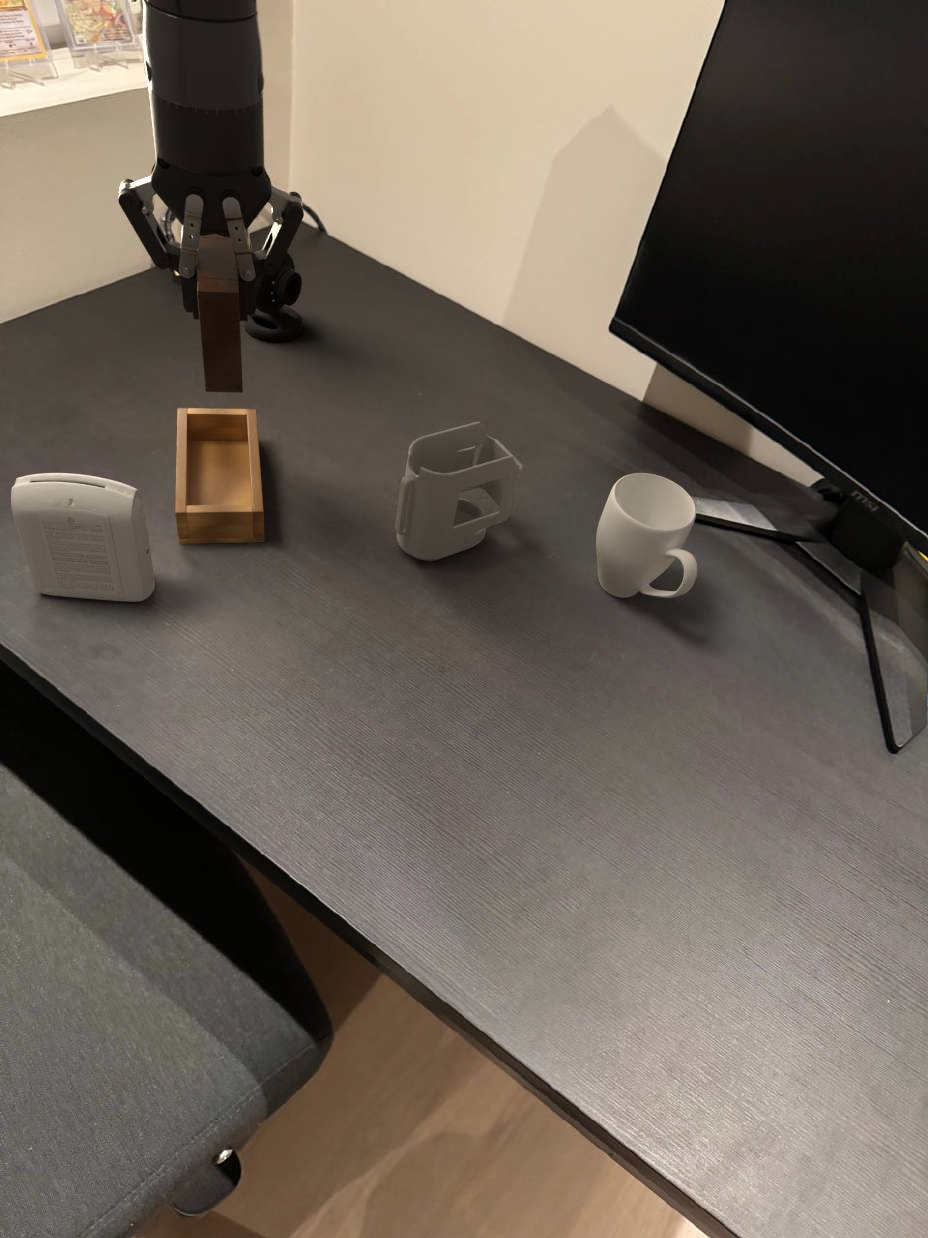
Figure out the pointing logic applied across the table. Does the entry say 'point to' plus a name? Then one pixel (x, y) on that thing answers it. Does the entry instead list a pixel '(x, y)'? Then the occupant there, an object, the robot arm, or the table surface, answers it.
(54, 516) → the photo printer
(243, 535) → the holder
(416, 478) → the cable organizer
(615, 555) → the mug
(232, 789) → the table surface
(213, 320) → the brown wooden box
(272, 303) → the webcam
